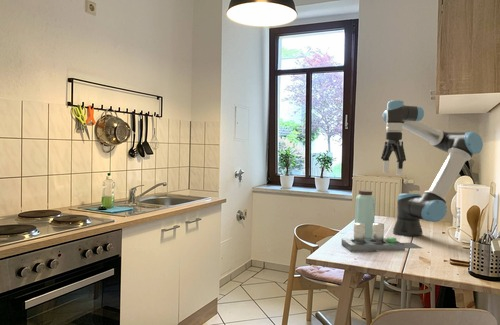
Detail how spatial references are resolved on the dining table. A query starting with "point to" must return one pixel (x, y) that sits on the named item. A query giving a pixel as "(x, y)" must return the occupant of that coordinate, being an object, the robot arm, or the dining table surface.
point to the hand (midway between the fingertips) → (392, 174)
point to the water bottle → (365, 211)
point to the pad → (411, 245)
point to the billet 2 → (378, 233)
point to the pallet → (371, 245)
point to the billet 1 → (359, 233)
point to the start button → (391, 240)
